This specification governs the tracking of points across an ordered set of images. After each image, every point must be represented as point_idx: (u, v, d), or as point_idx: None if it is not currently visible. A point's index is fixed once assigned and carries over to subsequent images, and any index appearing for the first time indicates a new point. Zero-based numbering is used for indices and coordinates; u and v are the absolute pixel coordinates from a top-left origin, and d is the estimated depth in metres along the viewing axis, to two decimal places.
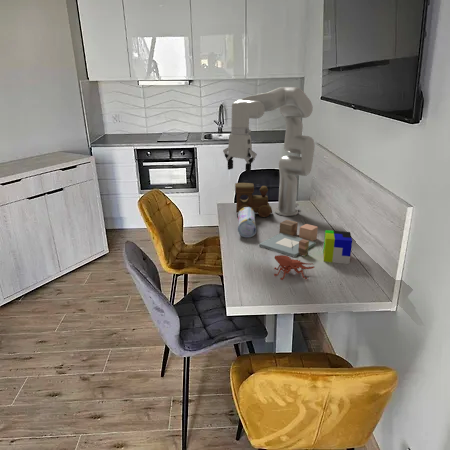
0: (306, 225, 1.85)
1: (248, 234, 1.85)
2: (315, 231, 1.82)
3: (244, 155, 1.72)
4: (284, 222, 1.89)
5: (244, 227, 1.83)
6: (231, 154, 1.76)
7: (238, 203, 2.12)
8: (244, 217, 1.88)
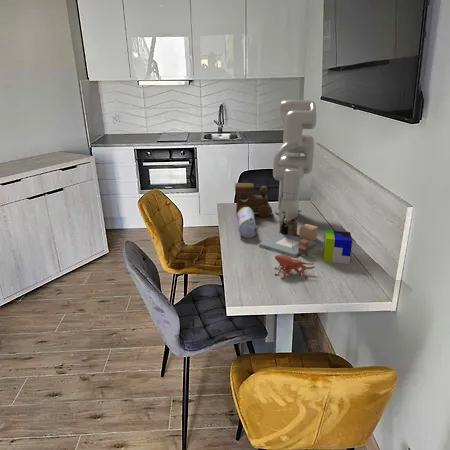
0: (306, 225, 1.85)
1: (249, 234, 1.85)
2: (315, 231, 1.82)
3: (297, 214, 1.88)
4: None
5: (245, 227, 1.83)
6: (290, 218, 1.83)
7: (238, 203, 2.12)
8: (244, 217, 1.88)
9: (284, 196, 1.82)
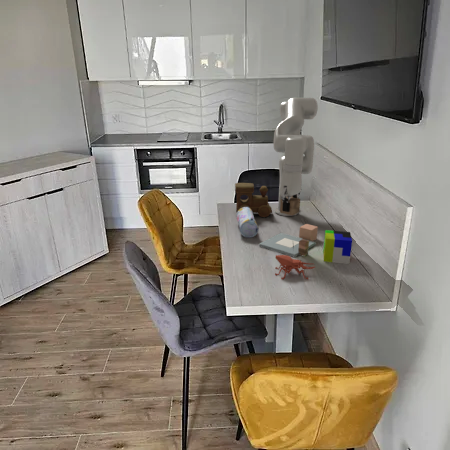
0: (306, 225, 1.85)
1: (250, 234, 1.85)
2: (315, 231, 1.82)
3: (300, 189, 1.70)
4: None
5: (246, 227, 1.83)
6: (292, 193, 1.65)
7: (238, 203, 2.12)
8: (245, 217, 1.88)
9: (286, 168, 1.63)
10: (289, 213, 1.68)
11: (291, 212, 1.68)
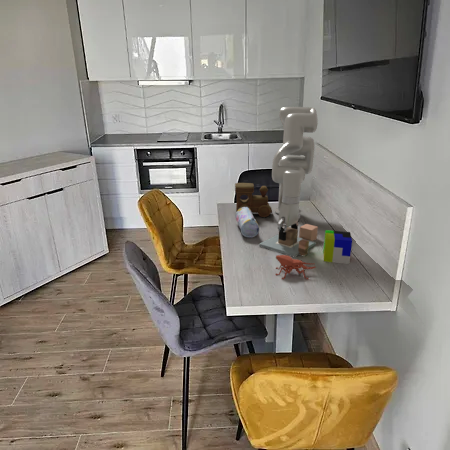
0: (306, 225, 1.85)
1: (251, 234, 1.85)
2: (315, 231, 1.82)
3: (298, 219, 1.75)
4: None
5: (247, 227, 1.83)
6: (290, 224, 1.70)
7: (238, 203, 2.12)
8: (245, 217, 1.87)
9: (284, 200, 1.68)
10: (287, 244, 1.73)
11: (289, 243, 1.73)
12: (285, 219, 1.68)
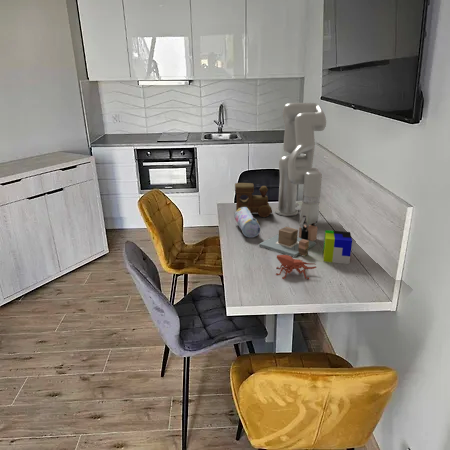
0: None
1: (252, 234, 1.85)
2: (315, 231, 1.82)
3: (317, 218, 1.83)
4: (283, 229, 1.75)
5: (248, 227, 1.83)
6: (310, 222, 1.78)
7: (238, 203, 2.12)
8: (246, 217, 1.87)
9: (305, 200, 1.76)
10: (287, 244, 1.73)
11: (289, 243, 1.73)
12: (306, 218, 1.76)
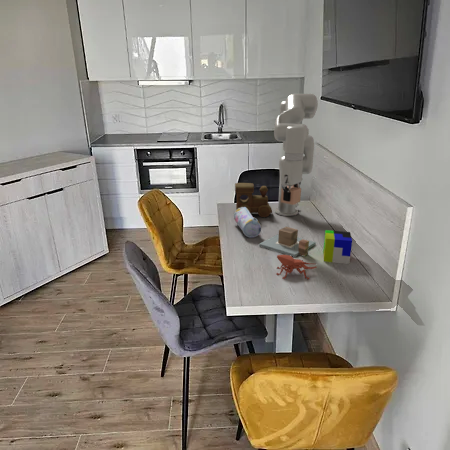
0: None
1: (253, 234, 1.85)
2: (298, 193, 1.68)
3: (301, 179, 1.69)
4: (283, 229, 1.75)
5: (249, 227, 1.83)
6: (293, 182, 1.64)
7: (238, 203, 2.12)
8: (246, 217, 1.87)
9: (286, 157, 1.62)
10: (287, 244, 1.73)
11: (289, 243, 1.73)
12: (288, 177, 1.62)
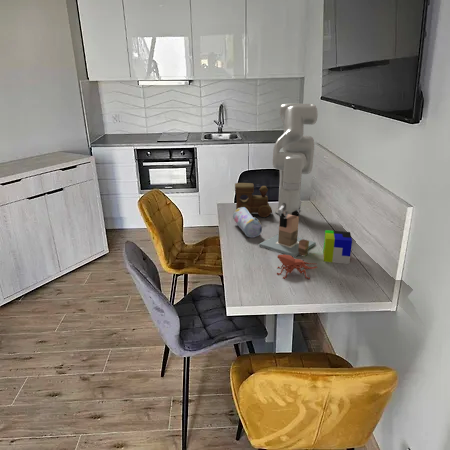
0: (287, 215, 1.75)
1: (254, 234, 1.85)
2: (296, 221, 1.72)
3: (299, 206, 1.73)
4: None
5: (250, 227, 1.83)
6: (290, 210, 1.68)
7: (238, 203, 2.12)
8: (247, 217, 1.87)
9: (284, 186, 1.66)
10: (287, 244, 1.73)
11: (289, 243, 1.73)
12: (286, 205, 1.66)
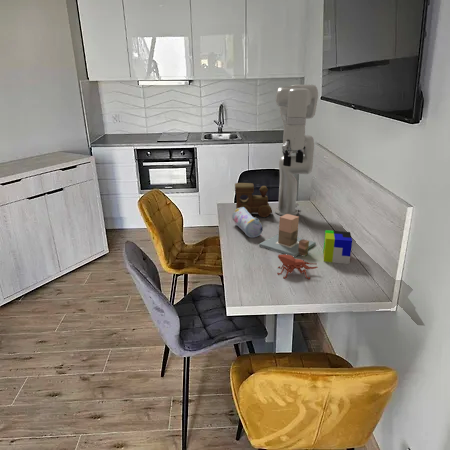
0: (287, 215, 1.75)
1: (255, 234, 1.85)
2: (296, 221, 1.72)
3: (303, 145, 1.64)
4: None
5: (251, 227, 1.83)
6: (295, 148, 1.59)
7: (238, 203, 2.12)
8: (247, 217, 1.87)
9: (289, 121, 1.57)
10: (287, 244, 1.73)
11: (289, 243, 1.73)
12: (290, 142, 1.57)
